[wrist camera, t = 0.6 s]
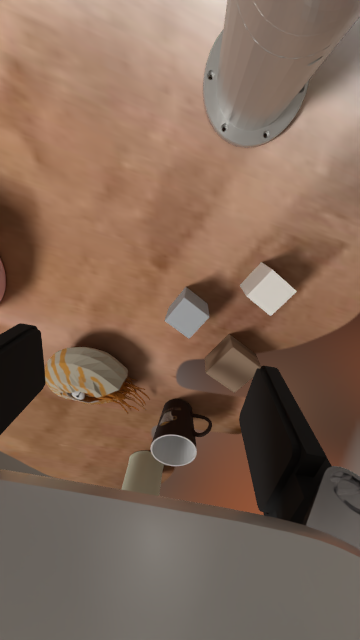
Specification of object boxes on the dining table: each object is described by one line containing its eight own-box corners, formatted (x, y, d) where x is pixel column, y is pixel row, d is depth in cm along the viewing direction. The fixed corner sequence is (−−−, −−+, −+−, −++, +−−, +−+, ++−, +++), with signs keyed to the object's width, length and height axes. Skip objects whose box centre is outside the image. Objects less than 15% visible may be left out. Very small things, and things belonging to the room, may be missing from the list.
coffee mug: (160, 423, 53) (153, 465, 44) (156, 395, 50) (147, 434, 41) (210, 423, 52) (213, 467, 43) (209, 394, 49) (212, 434, 40)
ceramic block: (261, 262, 37) (272, 269, 32) (282, 281, 38) (296, 291, 33) (239, 285, 39) (246, 296, 33) (260, 302, 40) (270, 316, 34)
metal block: (228, 333, 43) (232, 347, 38) (255, 353, 44) (262, 369, 40) (204, 357, 45) (205, 372, 41) (230, 376, 47) (234, 392, 42)
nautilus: (167, 378, 49) (128, 412, 55) (79, 319, 43) (46, 365, 49) (163, 408, 42) (119, 444, 48) (57, 343, 36) (22, 393, 42)
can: (163, 451, 57) (155, 506, 46) (164, 474, 61) (157, 530, 50) (127, 449, 58) (111, 502, 47) (130, 472, 62) (116, 527, 51)
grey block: (185, 286, 40) (184, 297, 34) (207, 303, 41) (209, 316, 35) (168, 307, 41) (164, 320, 36) (190, 323, 42) (189, 338, 37)
